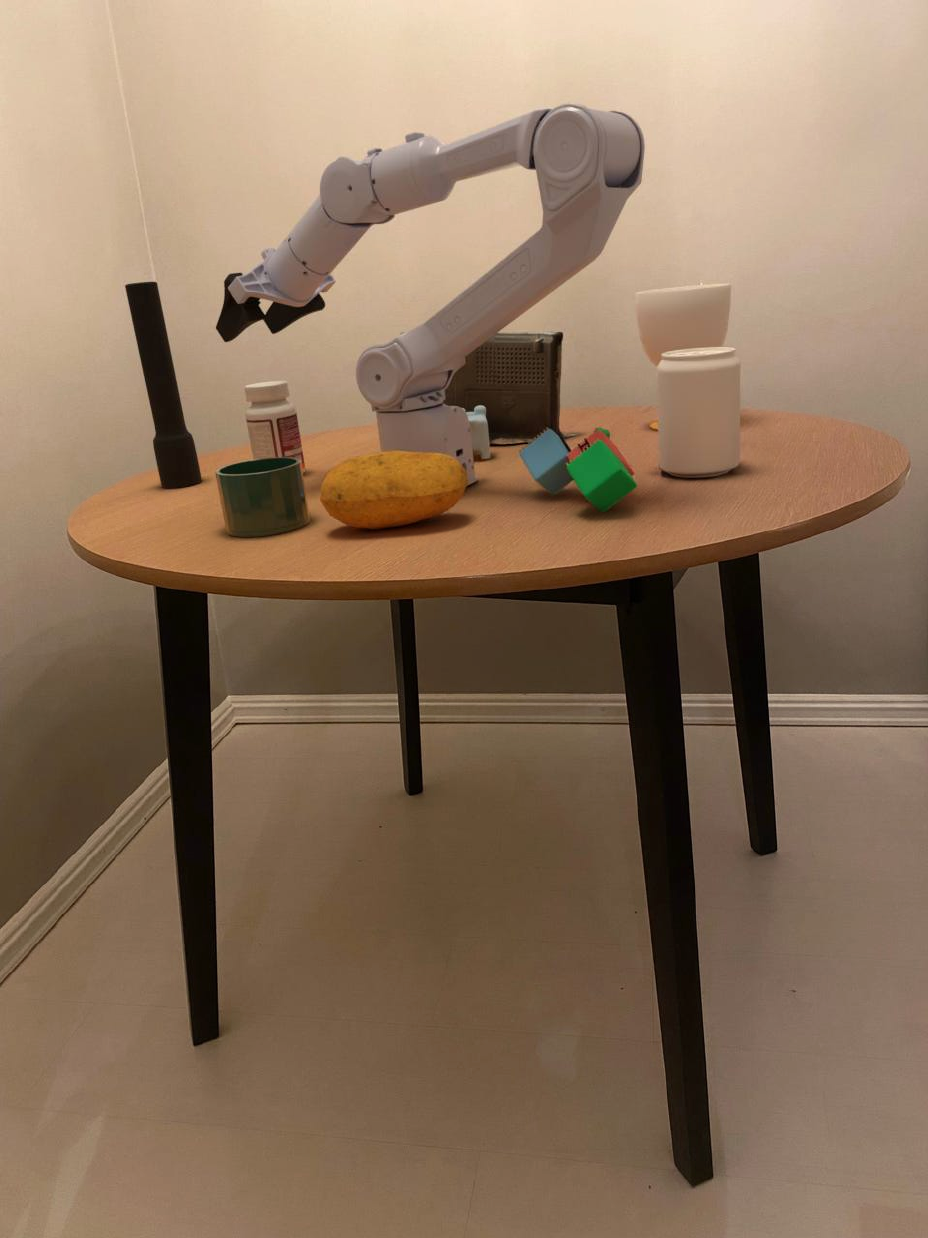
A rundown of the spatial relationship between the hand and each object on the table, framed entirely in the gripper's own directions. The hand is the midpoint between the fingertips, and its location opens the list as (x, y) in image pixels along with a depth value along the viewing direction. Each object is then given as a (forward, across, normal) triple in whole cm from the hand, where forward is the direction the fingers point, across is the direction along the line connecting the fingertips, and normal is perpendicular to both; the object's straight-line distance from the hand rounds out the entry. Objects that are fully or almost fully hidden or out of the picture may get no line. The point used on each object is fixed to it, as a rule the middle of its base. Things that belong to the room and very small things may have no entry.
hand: (246, 330), depth 108 cm
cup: (-22, -38, +36) cm, 57 cm away
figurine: (-6, -16, +25) cm, 31 cm away
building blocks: (-26, +3, +38) cm, 46 cm away
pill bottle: (+11, -3, +14) cm, 18 cm away
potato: (-15, +14, +31) cm, 37 cm away
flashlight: (+20, +3, +8) cm, 22 cm away
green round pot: (-3, +17, +23) cm, 29 cm away
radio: (-2, -27, +23) cm, 36 cm away
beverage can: (-32, -12, +42) cm, 54 cm away
